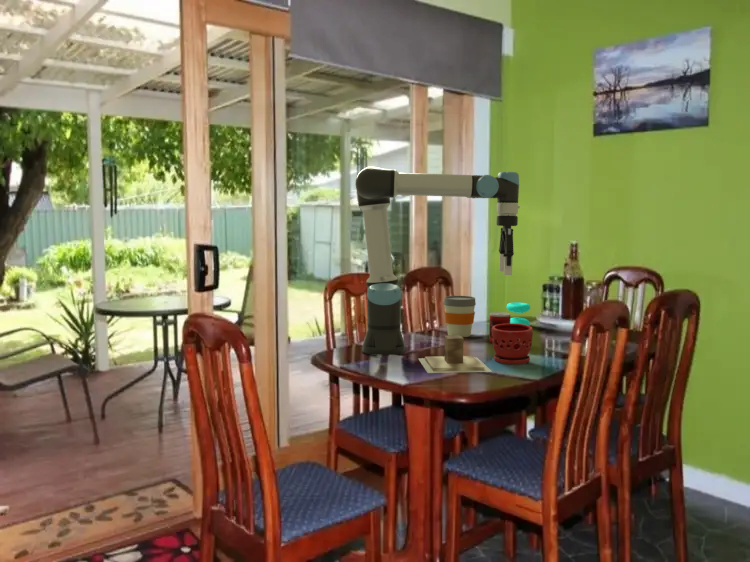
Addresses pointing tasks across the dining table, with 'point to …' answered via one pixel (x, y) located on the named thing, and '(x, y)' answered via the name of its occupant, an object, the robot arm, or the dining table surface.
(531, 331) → the plant pot
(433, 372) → the mat
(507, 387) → the dining table surface
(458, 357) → the lid
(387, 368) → the dining table surface
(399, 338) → the robot arm
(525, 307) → the donuts
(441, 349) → the dining table surface
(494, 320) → the canned food
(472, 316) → the reusable coffee cup
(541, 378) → the dining table surface
